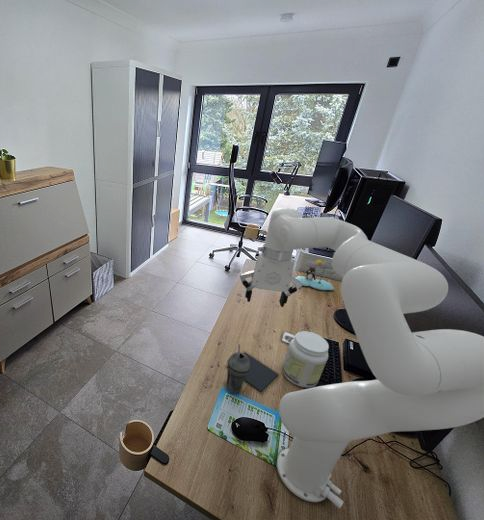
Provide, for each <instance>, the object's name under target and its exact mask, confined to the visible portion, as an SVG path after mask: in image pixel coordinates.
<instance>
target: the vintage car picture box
mask: <svg viewBox="0 0 484 520" xmlns="http://www.w3.org/2000/svg"><path fill="white" fill-rule="evenodd" d="M295 335H296V334H292V333H289V332H287V331H284V332H283V336H282V339H281V342H283V343H285V344H288V345H289V344H290V342H291V340H292V339H294V337H295Z"/></svg>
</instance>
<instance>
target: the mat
mask: <svg viewBox="0 0 484 520" xmlns="http://www.w3.org/2000/svg"><path fill="white" fill-rule="evenodd" d="M243 354H245V355H246V356H247V357H248V359H249V361H250V370H249V371H248V373H247V374H246V377H245V379H244V382H246V383H247V384H249V385H250V386H251V387H253V388H254V389H256V390H257V391H258V392H260V393H261V392H262V391H263V390H264V389H266V387H268V385H270V384H271V383H272V382H273V381H274V379H275V378H277V377H278V375H279V373H277V372H276V371H274V370H273V369H271V368H270V367H268V366H266V365H265V364H264V363H262V362H261V361H260V360H258V359H256V358H255V357H253V356H252V355H250V354H249V353H247V352H243ZM226 368H227V369H228V365H227V366H226Z"/></svg>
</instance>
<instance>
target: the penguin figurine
mask: <svg viewBox="0 0 484 520" xmlns="http://www.w3.org/2000/svg"><path fill="white" fill-rule="evenodd" d="M304 267H307V268H308V270H305V273H306V276H301V275H297V276H296V277H295V278H296V279H297V280H299V281H301V283H302V286H301V287H310V288H313V289H315V290H319V291H334V290H335V288H334V286H333V284H332V283H331V282H329V279H326V280H325V279H324V278H323V277H327V276H328V274H329V275H331V276H332V275H334V274H336V272H335V271H334V270H333V268H332V261H331V262H330V261H325V260H324V261H322V260H321V259H318V260H316V261H311V260H310V261H309V260H307V261H306V262H305V263H304ZM317 268H319V269H321V270H323V271H322V272H321V273H320V274H321V275H320V277H319V279H318V278H316V274H315V273H316V271H317V270H316V269H317Z"/></svg>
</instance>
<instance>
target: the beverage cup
mask: <svg viewBox="0 0 484 520" xmlns="http://www.w3.org/2000/svg"><path fill="white" fill-rule="evenodd" d="M227 366H228V368H227V376H226V377H227V378H226V389H227V391H228V392H230V393H232V394H239V392H240V391H241V389H242V386H243V384H244V382H245V380H244V379H245V377H246V374H247V373H248V371H249V370H250V361H249V359H248V357H247V356H246V355H245V354H244V352H241V344H240V343H239V344H238V346H237V352H234V353H232V354H231V355H230V356H229V358H228V359H227Z"/></svg>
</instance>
